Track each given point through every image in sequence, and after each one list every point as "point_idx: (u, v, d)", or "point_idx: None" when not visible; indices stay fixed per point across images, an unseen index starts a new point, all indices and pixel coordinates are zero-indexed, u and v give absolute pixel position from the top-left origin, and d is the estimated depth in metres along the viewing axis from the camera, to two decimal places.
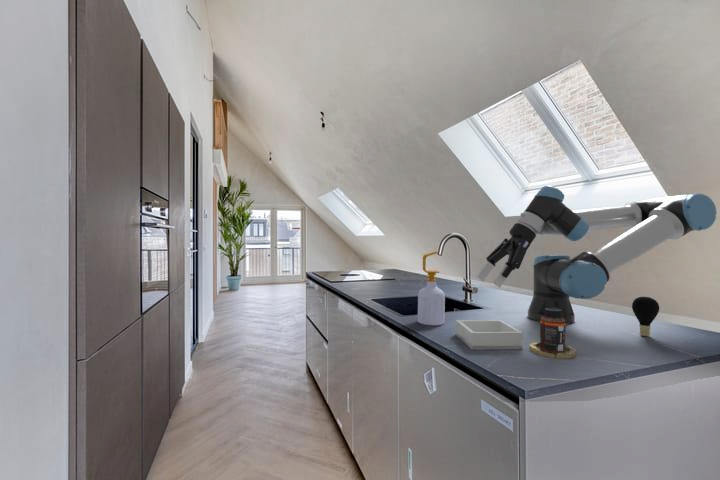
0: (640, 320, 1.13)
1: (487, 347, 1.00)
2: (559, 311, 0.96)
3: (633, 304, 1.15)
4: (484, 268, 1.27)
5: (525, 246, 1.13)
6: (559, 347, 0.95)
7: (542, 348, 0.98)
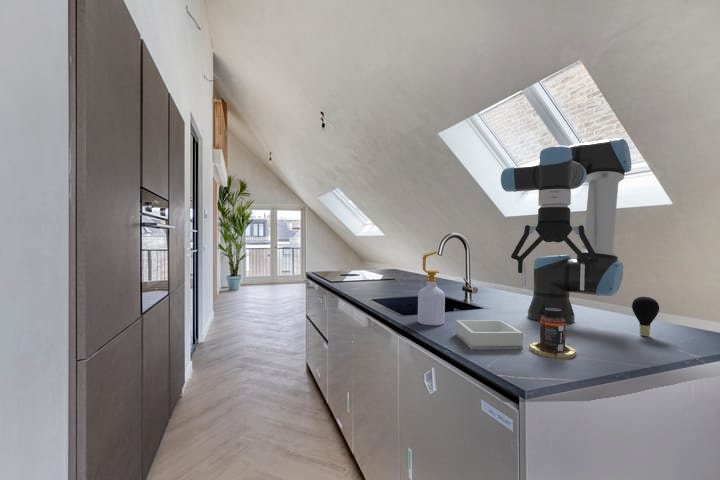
0: (640, 320, 1.13)
1: (487, 347, 1.00)
2: (559, 311, 0.96)
3: (633, 304, 1.15)
4: (525, 271, 1.00)
5: None
6: (559, 347, 0.95)
7: (542, 348, 0.98)
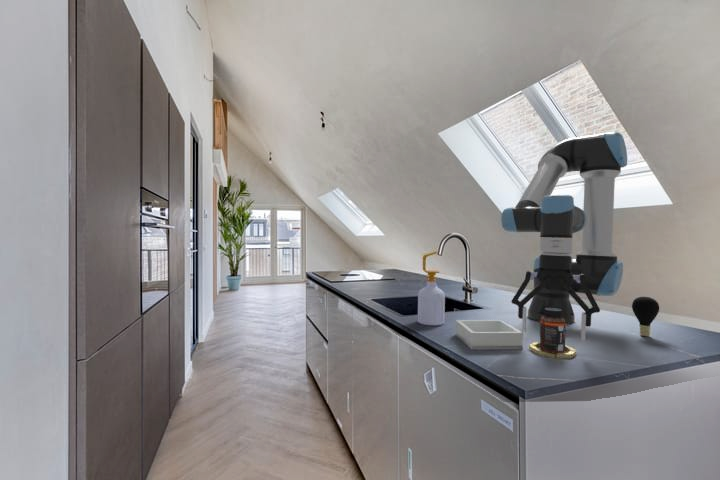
0: (640, 320, 1.13)
1: (487, 347, 1.00)
2: (559, 311, 0.96)
3: (633, 304, 1.15)
4: (525, 317, 1.00)
5: None
6: (559, 347, 0.95)
7: (542, 348, 0.98)
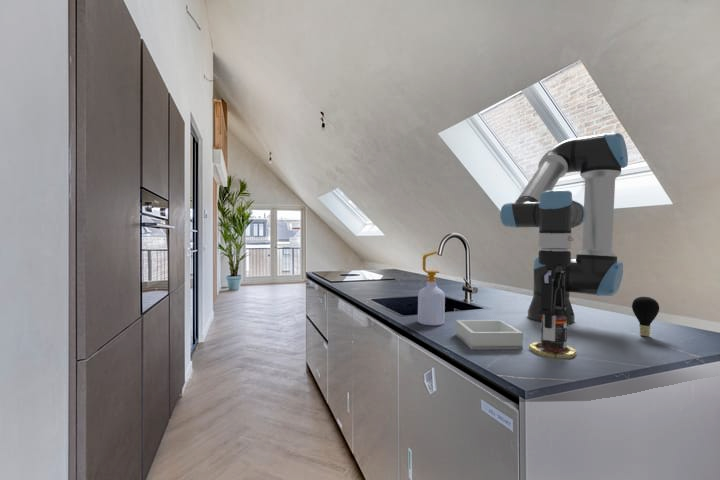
0: (640, 320, 1.13)
1: (487, 347, 1.00)
2: (561, 308, 0.97)
3: (633, 304, 1.15)
4: None
5: None
6: (564, 344, 0.96)
7: (547, 347, 0.97)
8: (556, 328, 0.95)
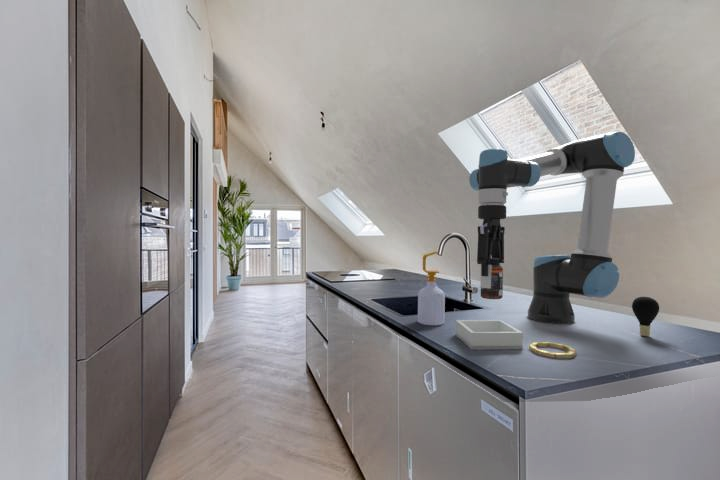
0: (640, 320, 1.13)
1: (487, 347, 1.00)
2: (498, 259, 1.04)
3: (633, 304, 1.15)
4: None
5: None
6: (500, 292, 1.03)
7: (485, 295, 1.04)
8: (492, 276, 1.03)
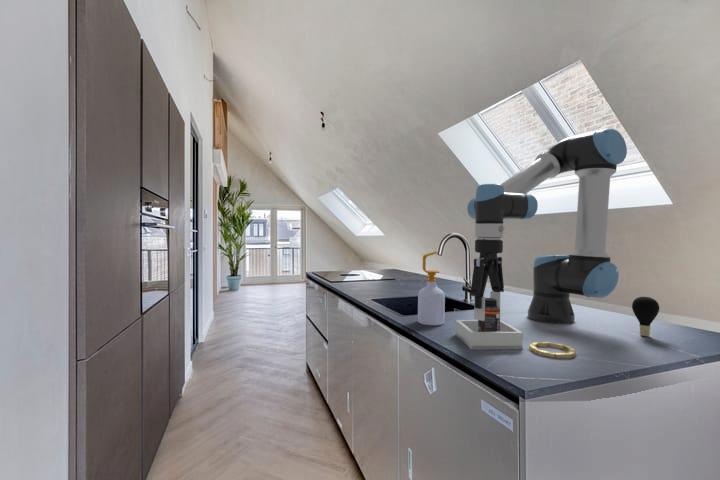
0: (640, 320, 1.13)
1: (487, 347, 1.00)
2: (495, 300, 1.05)
3: (633, 304, 1.15)
4: None
5: None
6: None
7: None
8: (489, 318, 1.04)
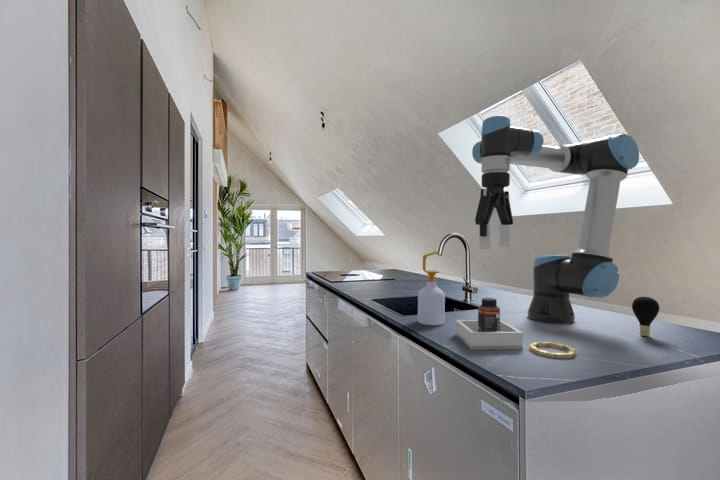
0: (640, 320, 1.13)
1: (487, 347, 1.00)
2: (495, 300, 1.05)
3: (633, 304, 1.15)
4: None
5: None
6: None
7: None
8: (489, 318, 1.04)
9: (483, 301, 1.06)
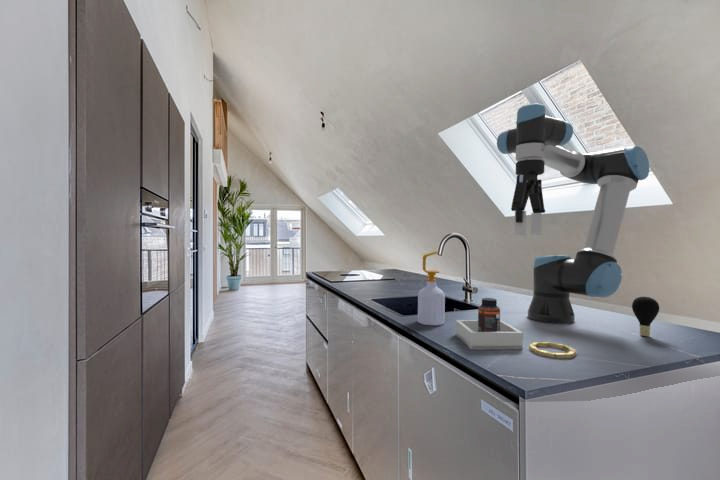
0: (640, 320, 1.13)
1: (487, 347, 1.00)
2: (495, 300, 1.05)
3: (633, 304, 1.15)
4: None
5: None
6: None
7: None
8: (489, 318, 1.04)
9: (483, 301, 1.06)
